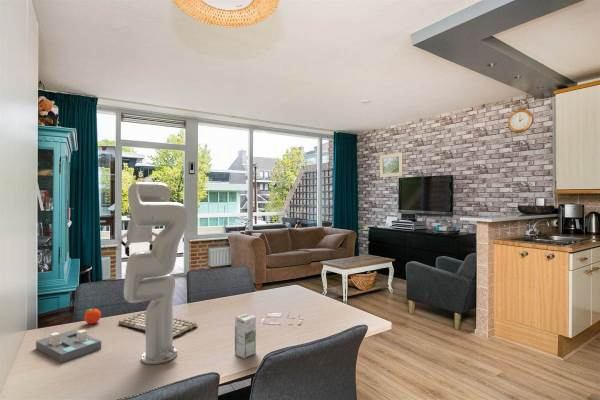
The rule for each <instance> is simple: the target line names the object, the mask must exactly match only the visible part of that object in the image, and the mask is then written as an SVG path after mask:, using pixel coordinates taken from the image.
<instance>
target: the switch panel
mask: <svg viewBox="0 0 600 400" xmlns="http://www.w3.org/2000/svg"><path fill="white" fill-rule="evenodd" d="M77 331H78V330H77V329H72V330H69V331H66V332H61V333H60V342H62V345H59V346H56V347H55V346H53V345H51V344H49V343H50V336H49V337H45V338H41V339H39V340H36V341H35V349H36V350H38V351H40V352H41V353H44V354H45V355H47V356H49V357H51V358H53V359H54V360H56V361H58V362H60V363H65V362H68V361H70V360H73V359H77V358H79V357H81V356H84V355H87V354H90V353H92V352H96V351H98V350H100V349H102V340H100V339H98V338H95V337H93V336H90V335H88V334H87V339H88V341H85V342H82V343H80V342H78V341H75V340H77Z"/></svg>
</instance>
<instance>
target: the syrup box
mask: <svg viewBox="0 0 600 400" xmlns="http://www.w3.org/2000/svg"><path fill="white" fill-rule="evenodd" d="M256 321H257V317H256V316H254V315H252V314H250V313H245V314H241V315H239V316H236V317H235V319H234V355H235V356H238V357H240V358H242V359H246V358H249V357H251V356H253V355H255V354H256V349H257V347H256V341H257V340H256V338H257V337H256V336H257V332H256V331H257V322H256Z"/></svg>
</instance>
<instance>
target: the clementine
mask: <svg viewBox="0 0 600 400" xmlns="http://www.w3.org/2000/svg"><path fill="white" fill-rule="evenodd" d="M83 313H85V314H84V316H83V319H84V321H85V322H86V324H90V325H94V324H96V323H98V322H99V321H100V320H101V317H102V312H101V310H99V308H89V309H86V310H85V311H84V312H83Z"/></svg>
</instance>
